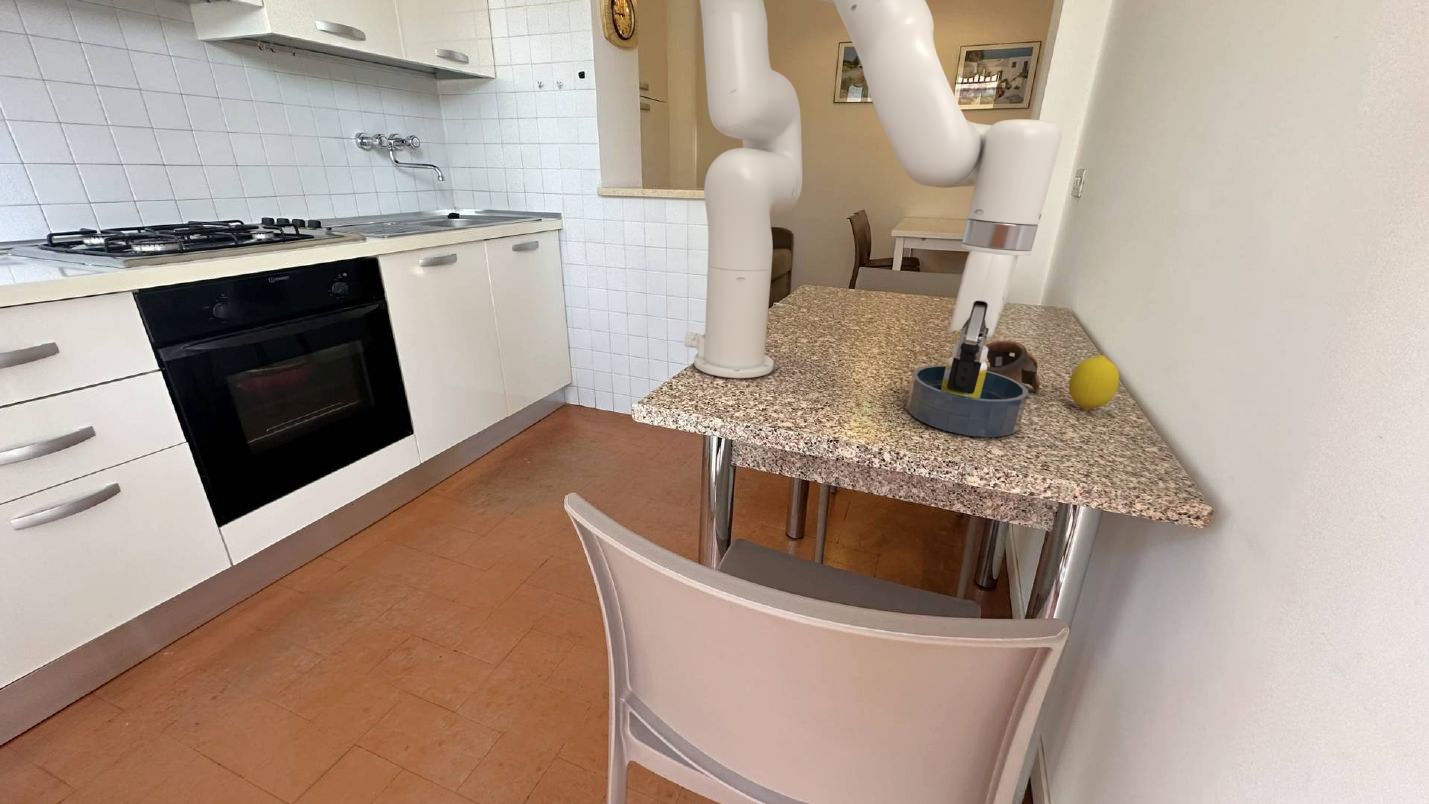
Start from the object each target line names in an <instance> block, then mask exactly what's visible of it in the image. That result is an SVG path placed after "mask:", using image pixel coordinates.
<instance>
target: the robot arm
mask: <svg viewBox="0 0 1429 804" xmlns="http://www.w3.org/2000/svg"><path fill="white" fill-rule="evenodd" d="M819 1H820V2H826V3H831V4H833V5H834V6H835V8H836V10H837V13H838V14H839V17H840V19H841V21H842V23H843V26H844V27H845V30H846V32H847V34H848V36H849V39H850V41H851V43H852V46H853V48H854V50H855V52H856V54H857V56H858V59H859V61H860V63H861V67H862V71H863V77H864V79H865V83H866V85H867V87H868V92H869V96H870V98H871V102H872V104H873V107H874V110H875V112H876V115H877V117H878V120H879V122H880V125H881V127H882V128H883V129H882V130H883V131H884V133H885V135H886V137H887V140H888V142H889V144H890V146H891V148H892V151H893V153H894V155H895V156H896V158H897V160H898V163H899V164H900V167H901V168H902V170H903V171H904V172H905V174H906V175H907V176H908V177H909V178H910V179H912V181H913V182H915V183H916V184H919V185H922V186H926V187H934V188H961V187H974V188H973V192H972V197H971V201H970V205H969V210H968V214H967V219H966V224H965V228H964V231H963V232H964V233H963V238H962V241H961V246H960V249H964V250H968V251H969V252H968V255H967V257H966V261H965V264H964V268H963V272H962V276H961V280H960V284H959V288H958V292H957V297H956V301H955V304H954V309H953V313H952V317H951V320H950V321H951V322H950V325H949V329H948V331H949V333H950V335H954V334H955V333H957V332H958V333H960V331H961V333H960V334H959V335H960V336H959V341H958V342H959V345H958V349H957V353H956V357H954V358H953V362H952V366H951V371H950V375H949V379H948V384H947V388H948V389H950V390H955V391H959V392H964V393H969V394H972V393H974V391H975V387H976V383H977V379H978V375H979V371H980V367H981V364H982V362H980V358H981V354H982V350H983V346H985V345H986V341H987V340H990V339H991V338H992V337H993V336H994V333H995V331H996V328H997V326H998V324H999V321H1000V319H1001V316H1002V313H1003V311H1004V308H1005V304H1006V302H1007V298H1008V295H1009V291H1010V288H1011V285H1012V280H1013V277H1014V273H1015V269H1016V266H1017V262H1018V258H1019V257H1020V256H1021V257H1022V256H1023V257H1024V256H1026V257H1027V256H1031V254H1032V250H1033V247H1034V243H1035V239H1036V235H1037V232H1038V228H1039V224H1040V221H1041V217H1042V214H1043V209H1044V205H1045V202H1046V198H1047V194H1048V191H1049V187H1050V183H1051V180H1052V176H1053V172H1054V170H1055V169H1054V168H1055V166H1056V160H1057V158H1058V154H1059V150H1060V146H1061V141H1062V136H1063V135H1062V130H1061V127H1060V126H1059V124H1057V123H1055V122H1053V121H1049V120H1041V119H1030V118H1029V119H1027V118H1026V119H1025V118H1023V119H1022V118H1021V119H1019V118H1017V119H1005V120H999V121H997V122H995V123H993V124H985V123H978V122H972V121H970V120H968V119H966V117H965V115H964V113H963V110H962V109H961V106H960V105H959V103H958V100H957V98H956V95H955V94H954V92H953V89H952V88H951V85H950V83H949V81H948V78H947V76H946V74H945V72H944V69H943V65H942V63H941V61H940V58H939V57H938V52H937V50H936V45H935V40H934V31H935V30H934V29H935V25H934V18H933V15H932V12H931V9H930V7H929V5H928V2H926V0H819ZM699 4H700V11H701V20H702V33H703V34H702V35H703V55H704V66H705V68H704V70H705V83H706V97H707V107H708V114H709V118H710V121H711V123H712V125H713V126H714V128H715V129H716V130H717V131H718V132H720V133H721V134H723V135H724V136H726V137H730V138H734V139H739V140H742V147H736V148H731V149H728V150H726V151H724V152H723V153H721V154H719V155H718V156H717V157H716V158H715V159H714V160H713V161H712V163H711V164H710V166H709V168H708V170H707V172H706V176H705V179H704V187H703V189H704V190H703V191H704V204H705V212H706V218H707V219H706V220H707V221H706V222H707V237H708V238H707V271H706V273H707V275H706V296H705V297H706V300H705V323H704V325H705V326H704V333H703V334H699V333H697V332H691V331H687V332H686V333H685V335H684V341H683V345H684V347H687V348H695V349H696V350H697V354H695V355H694V357H693V365H694V367H695V368H696V369H697V370H698V371H700V372H702V373H705V374H708V375H711V376H714V377H715V376H716V377H720V378H727V379H751V378H758V377H763V376H766V375H769V374H771V373H772V372H773V370H774V367H775V361H774V360H773V358H771V357H770V356H769V355H767V354H766V343H767V330H768V329H767V327H768V318H769V317H768V316H769V306H770V305H769V304H770V293H771V282H772V281H771V280H772V269H773V251H774V249H773V248H774V245H773V242H774V241H773V234H772V226H771V219H777V218H781V217H783V216H785V215H786V214H788V213H789V212H790V211H791V210H792V209H794V208H795V206H796V205H797V203H798V201H799V198H800V196H801V193H802V187H803V148H802V147H803V144H802V143H803V142H802V118H801V116H802V115H801V107H800V106H801V105H800V102H799V98H798V95H797V92H796V89H795V87H794V86H793V84H792V83H791V82H790V80H789V79H788V78H787V77H786V76H784V75H783V74H782V73H780V72H779V71H775V70H773V69H772V67H771V62H770V53H769V40H768V39H769V37H768V34H769V33H768V32H769V31H768V30H769V29H768V27H769V26H768V25H769V24H768V18H767V17H768V16H767V13H766V11H767V10H766V7H765V4H764V0H699ZM977 343H978V344H979V345H978V344H977ZM976 354H977V355H976Z"/></svg>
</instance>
